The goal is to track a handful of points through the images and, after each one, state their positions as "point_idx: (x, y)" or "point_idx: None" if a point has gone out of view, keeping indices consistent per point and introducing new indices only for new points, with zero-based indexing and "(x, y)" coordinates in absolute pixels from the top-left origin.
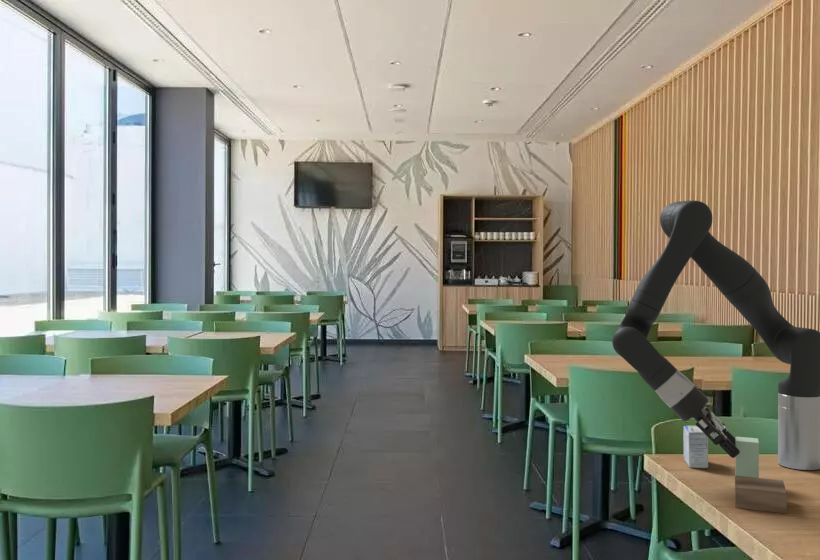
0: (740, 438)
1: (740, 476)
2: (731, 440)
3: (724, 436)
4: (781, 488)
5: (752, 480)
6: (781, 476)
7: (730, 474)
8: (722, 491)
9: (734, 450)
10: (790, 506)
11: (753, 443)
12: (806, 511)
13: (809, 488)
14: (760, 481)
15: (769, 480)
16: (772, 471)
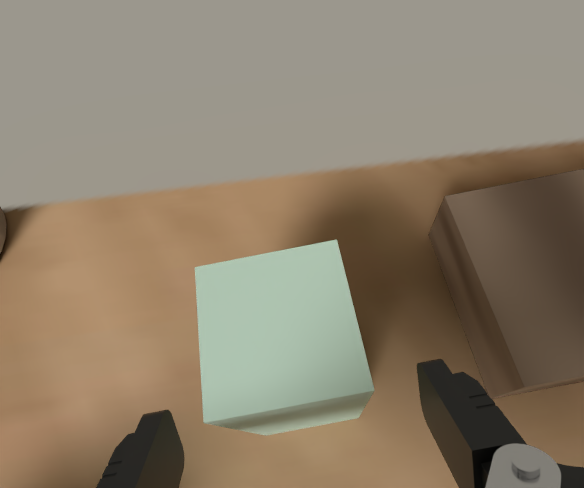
0: (260, 373)
1: (520, 358)
2: (159, 469)
3: (557, 471)
4: (579, 182)
5: (549, 295)
6: (110, 283)
7: None
8: None
9: (478, 387)
10: None
11: (343, 272)
12: (506, 165)
13: (232, 191)
14: (536, 263)
15: (487, 236)
16: (45, 322)
